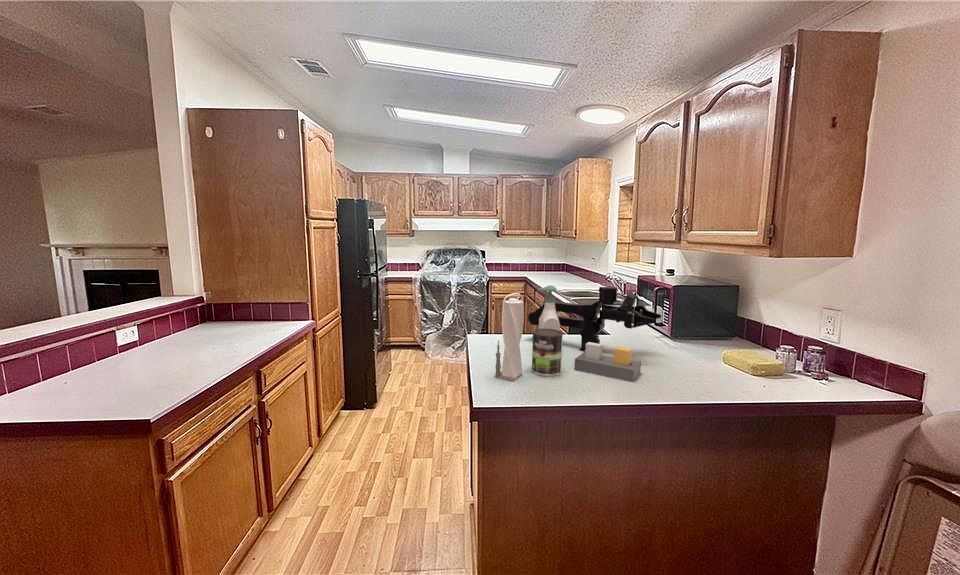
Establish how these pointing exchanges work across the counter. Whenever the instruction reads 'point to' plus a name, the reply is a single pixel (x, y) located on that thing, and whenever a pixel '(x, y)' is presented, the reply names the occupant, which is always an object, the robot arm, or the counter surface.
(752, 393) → the counter surface
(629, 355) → the amber plug
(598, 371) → the block
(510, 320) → the skyscraper
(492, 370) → the counter surface
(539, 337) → the coffee can
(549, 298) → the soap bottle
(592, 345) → the white rectangular block
